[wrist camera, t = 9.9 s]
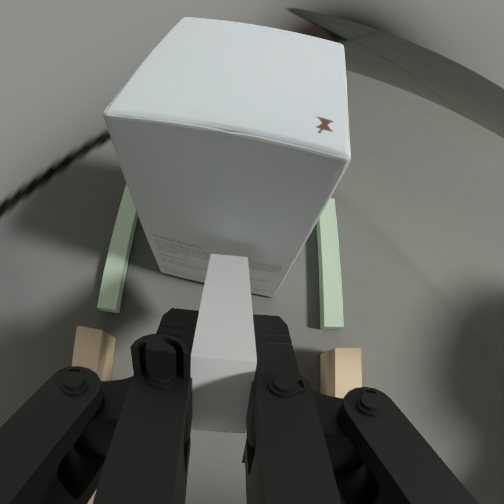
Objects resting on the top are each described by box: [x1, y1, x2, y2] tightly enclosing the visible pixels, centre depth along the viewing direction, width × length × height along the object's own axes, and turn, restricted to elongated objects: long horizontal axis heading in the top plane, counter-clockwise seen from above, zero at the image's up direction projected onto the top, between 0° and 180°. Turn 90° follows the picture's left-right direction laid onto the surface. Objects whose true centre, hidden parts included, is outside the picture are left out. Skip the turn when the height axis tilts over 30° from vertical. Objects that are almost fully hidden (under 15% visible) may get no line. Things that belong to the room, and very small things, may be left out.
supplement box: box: [103, 17, 351, 298], centre depth 15 cm, size 7×7×13 cm
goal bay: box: [97, 184, 344, 330], centre depth 20 cm, size 9×14×1 cm, turn 88°
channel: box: [72, 326, 362, 504], centre depth 14 cm, size 10×15×2 cm, turn 88°
